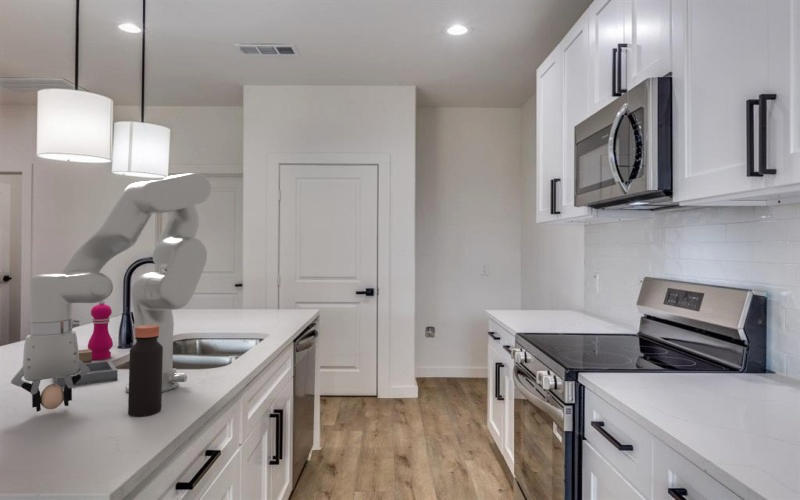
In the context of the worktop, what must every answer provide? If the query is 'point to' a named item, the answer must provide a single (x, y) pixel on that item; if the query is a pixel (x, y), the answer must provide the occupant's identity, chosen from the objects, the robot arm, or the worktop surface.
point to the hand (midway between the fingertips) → (52, 406)
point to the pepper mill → (100, 332)
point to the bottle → (145, 372)
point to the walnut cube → (85, 356)
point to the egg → (52, 396)
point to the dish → (93, 374)
